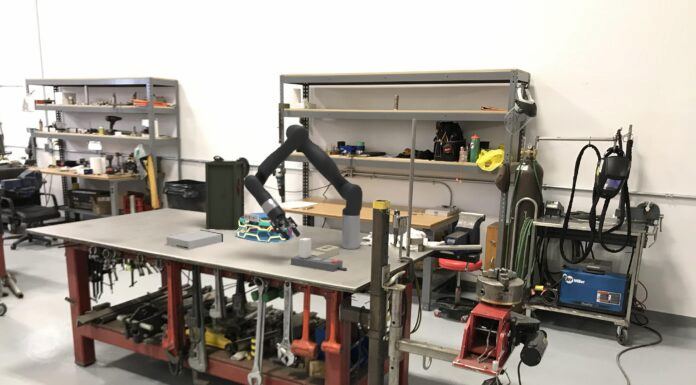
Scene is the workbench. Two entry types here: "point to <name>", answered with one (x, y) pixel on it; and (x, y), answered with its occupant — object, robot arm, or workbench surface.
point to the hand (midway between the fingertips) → (293, 237)
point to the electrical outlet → (325, 251)
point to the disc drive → (194, 239)
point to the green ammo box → (224, 194)
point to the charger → (304, 248)
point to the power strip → (318, 263)
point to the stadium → (259, 229)
